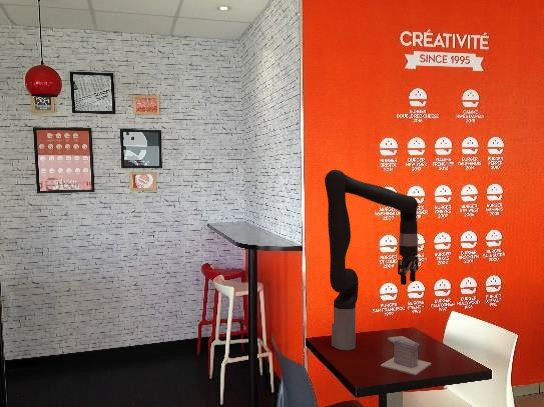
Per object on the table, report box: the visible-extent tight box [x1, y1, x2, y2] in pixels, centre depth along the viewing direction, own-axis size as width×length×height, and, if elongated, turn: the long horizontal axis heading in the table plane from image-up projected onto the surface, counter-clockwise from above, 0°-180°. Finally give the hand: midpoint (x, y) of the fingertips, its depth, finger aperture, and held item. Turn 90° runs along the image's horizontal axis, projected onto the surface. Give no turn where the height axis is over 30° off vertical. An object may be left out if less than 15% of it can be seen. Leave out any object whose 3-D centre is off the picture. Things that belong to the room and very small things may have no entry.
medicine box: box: [393, 339, 419, 368], centre depth 190 cm, size 8×4×9 cm, turn 45°
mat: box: [380, 356, 432, 376], centre depth 190 cm, size 14×14×1 cm
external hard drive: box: [387, 335, 421, 348], centre depth 216 cm, size 2×8×12 cm
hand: (408, 282), depth 207 cm, fingers open, 8 cm apart
